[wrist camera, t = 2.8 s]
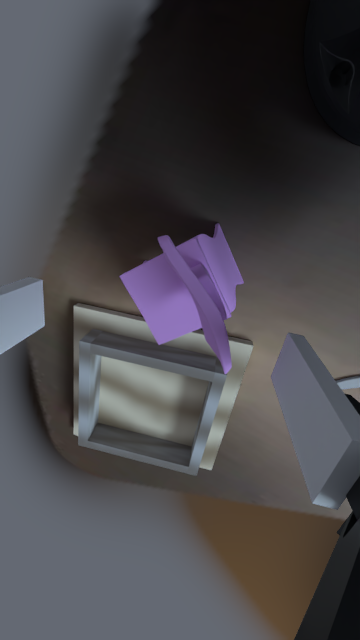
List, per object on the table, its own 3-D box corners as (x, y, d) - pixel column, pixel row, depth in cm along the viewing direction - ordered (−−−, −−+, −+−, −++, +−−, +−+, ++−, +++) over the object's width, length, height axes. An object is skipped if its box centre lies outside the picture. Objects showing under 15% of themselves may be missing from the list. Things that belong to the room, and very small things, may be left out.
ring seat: (78, 302, 29) (57, 315, 25) (252, 341, 28) (257, 361, 24) (77, 429, 37) (61, 452, 33) (211, 463, 36) (210, 492, 32)
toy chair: (134, 254, 26) (37, 300, 12) (214, 212, 23) (205, 209, 9) (171, 322, 28) (125, 426, 14) (247, 291, 26) (278, 381, 12)
